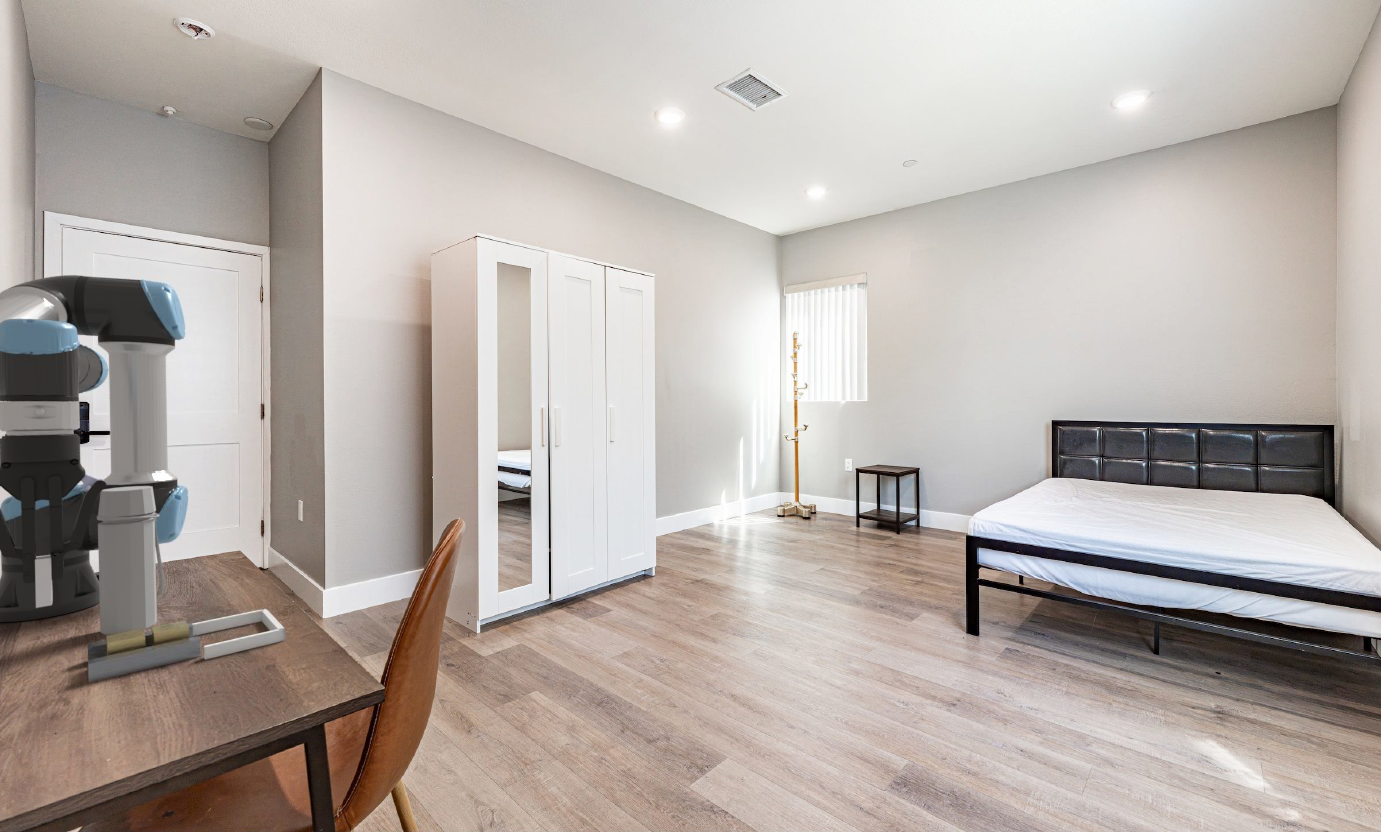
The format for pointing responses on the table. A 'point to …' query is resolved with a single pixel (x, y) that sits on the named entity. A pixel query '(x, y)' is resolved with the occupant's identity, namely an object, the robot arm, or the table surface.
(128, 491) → the water bottle
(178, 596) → the table surface
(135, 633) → the tan cube block
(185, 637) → the khaki cube block
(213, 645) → the white rectangular frame
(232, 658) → the table surface
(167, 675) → the table surface
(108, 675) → the slot rail
